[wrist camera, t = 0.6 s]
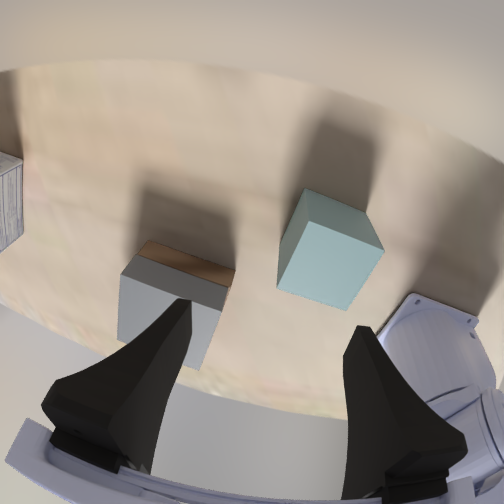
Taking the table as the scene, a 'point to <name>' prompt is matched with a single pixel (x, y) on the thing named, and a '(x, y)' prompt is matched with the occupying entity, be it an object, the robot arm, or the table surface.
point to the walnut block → (188, 264)
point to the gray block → (167, 303)
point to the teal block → (327, 251)
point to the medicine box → (10, 200)
